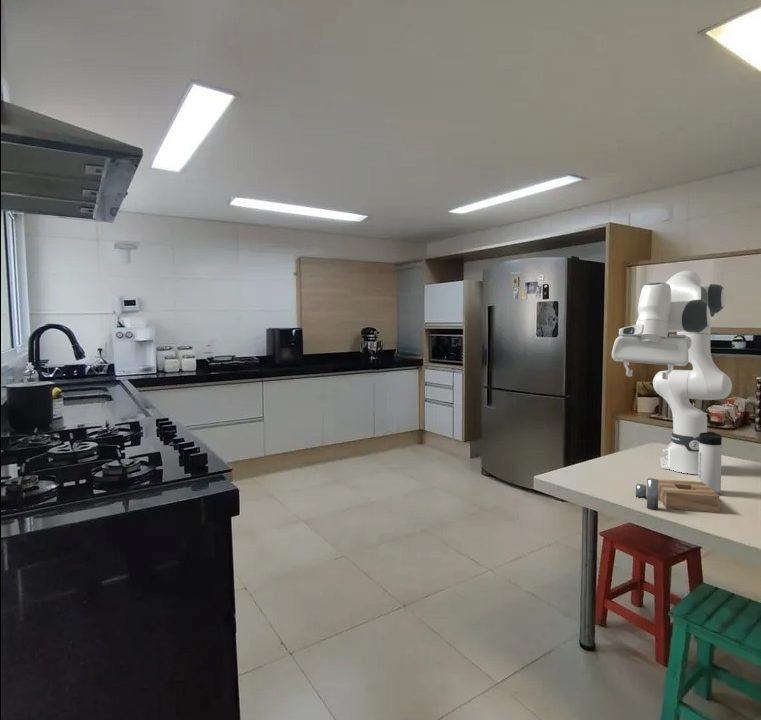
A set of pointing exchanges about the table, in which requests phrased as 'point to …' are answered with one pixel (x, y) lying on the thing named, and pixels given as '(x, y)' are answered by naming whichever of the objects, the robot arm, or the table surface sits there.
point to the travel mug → (710, 460)
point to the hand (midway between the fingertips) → (646, 377)
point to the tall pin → (652, 493)
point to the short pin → (640, 491)
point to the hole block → (687, 495)
